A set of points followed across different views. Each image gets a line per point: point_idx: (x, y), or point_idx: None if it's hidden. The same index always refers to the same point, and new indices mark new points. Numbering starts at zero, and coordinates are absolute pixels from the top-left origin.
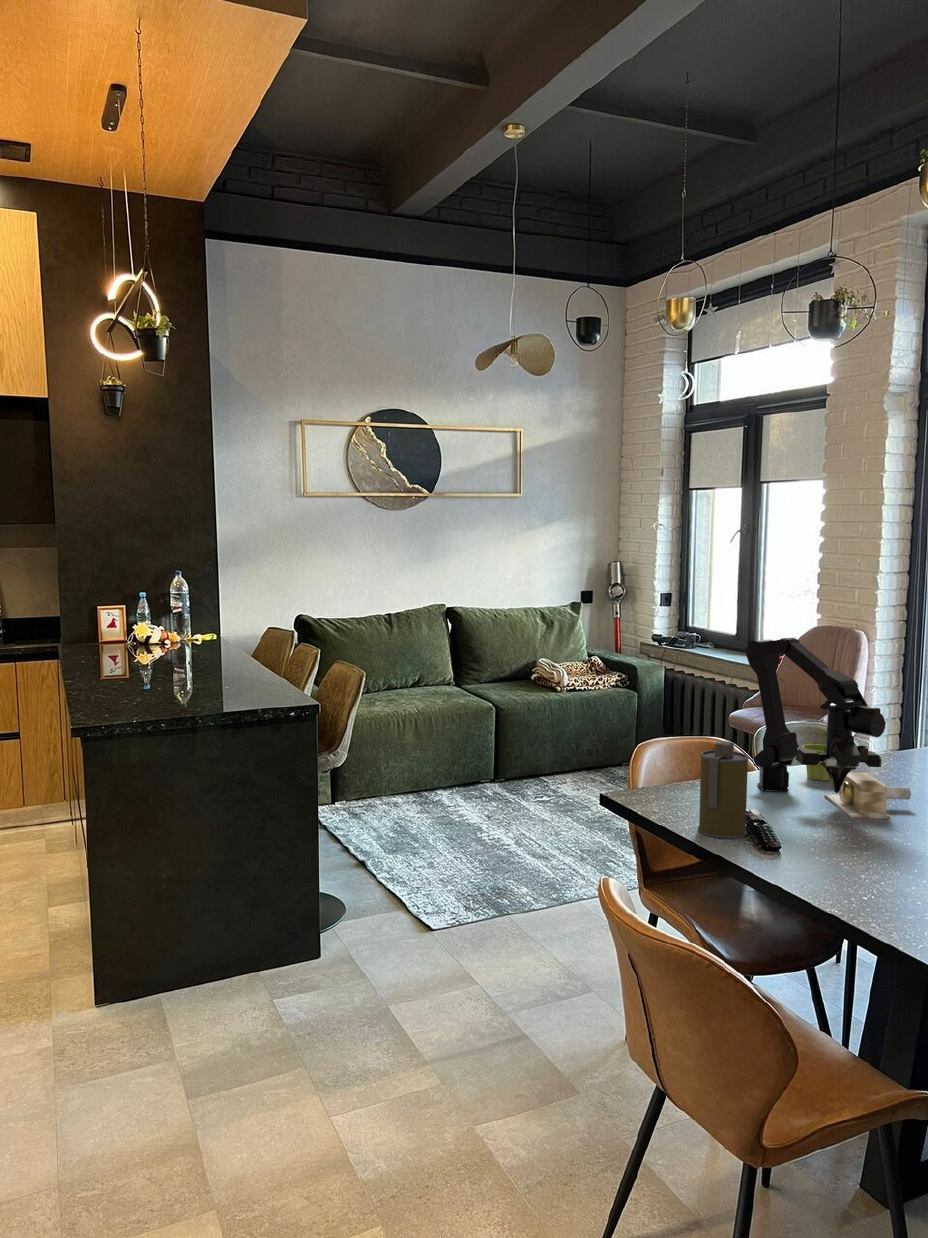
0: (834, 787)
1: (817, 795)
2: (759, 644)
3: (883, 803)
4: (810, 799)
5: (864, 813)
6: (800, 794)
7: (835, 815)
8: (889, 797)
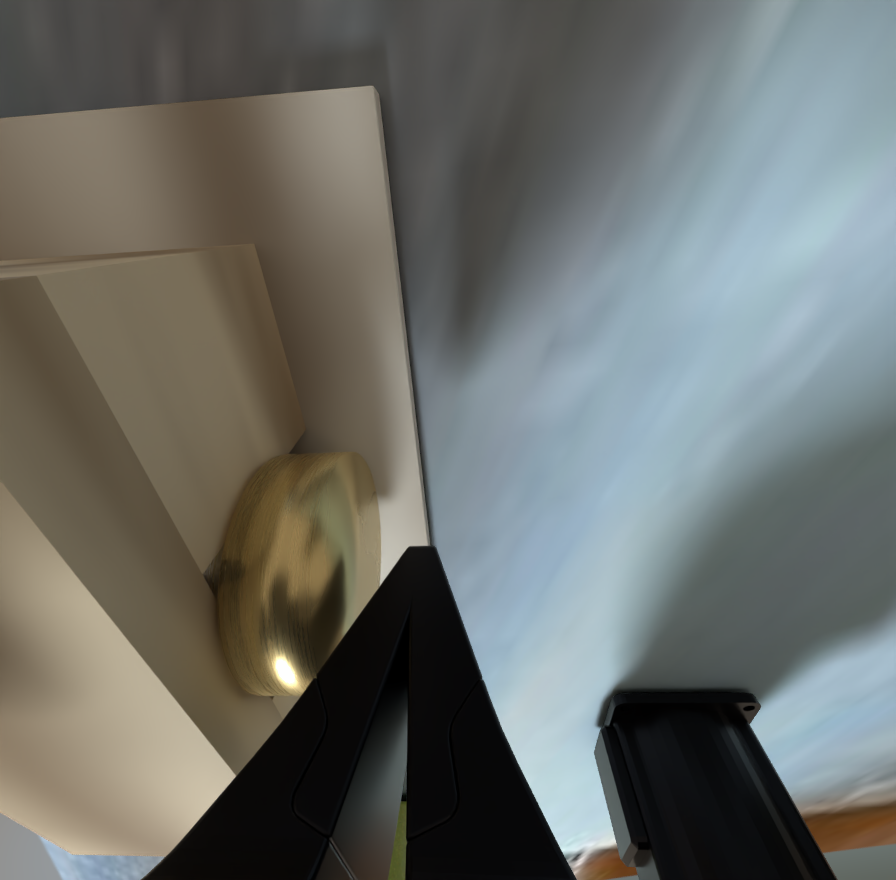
0: (451, 595)
1: None
2: None
3: None
4: (546, 602)
5: (209, 208)
6: (562, 667)
7: (525, 195)
8: None
